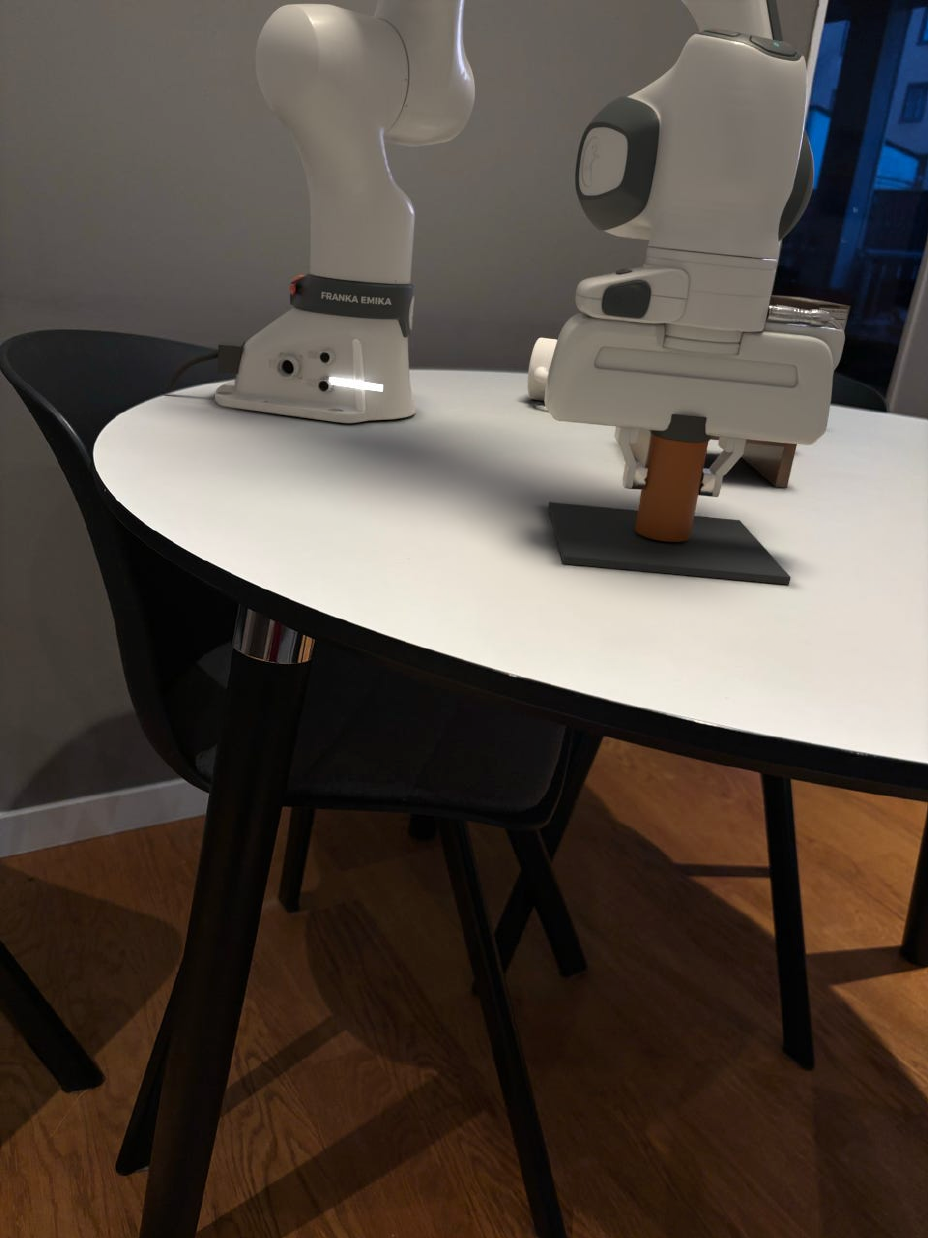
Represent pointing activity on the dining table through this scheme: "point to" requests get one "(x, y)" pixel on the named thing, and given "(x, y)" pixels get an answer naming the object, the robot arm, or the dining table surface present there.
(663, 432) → the spice bottle
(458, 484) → the dining table surface
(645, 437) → the shelf
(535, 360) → the mug
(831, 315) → the coffee box
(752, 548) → the mat
